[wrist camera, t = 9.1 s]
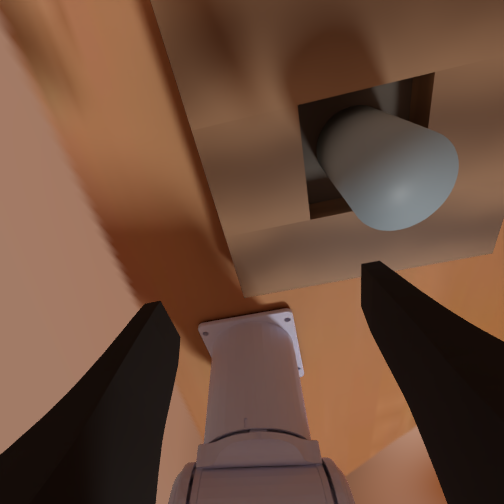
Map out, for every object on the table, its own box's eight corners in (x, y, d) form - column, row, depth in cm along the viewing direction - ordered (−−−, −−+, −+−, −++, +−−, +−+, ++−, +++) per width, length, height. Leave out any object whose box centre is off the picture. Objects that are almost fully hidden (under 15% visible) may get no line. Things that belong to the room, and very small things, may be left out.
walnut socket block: (466, 232, 20) (492, 253, 18) (244, 274, 22) (244, 298, 20) (551, -112, 11) (620, -148, 9) (162, 0, 13) (147, -10, 11)
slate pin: (388, 170, 17) (450, 218, 12) (320, 187, 17) (352, 240, 12) (390, 95, 15) (467, 115, 10) (312, 116, 15) (347, 145, 10)
